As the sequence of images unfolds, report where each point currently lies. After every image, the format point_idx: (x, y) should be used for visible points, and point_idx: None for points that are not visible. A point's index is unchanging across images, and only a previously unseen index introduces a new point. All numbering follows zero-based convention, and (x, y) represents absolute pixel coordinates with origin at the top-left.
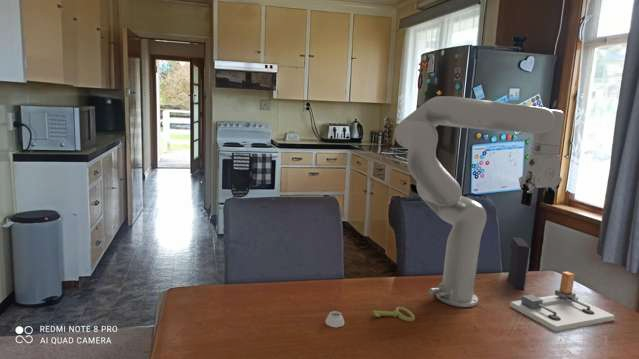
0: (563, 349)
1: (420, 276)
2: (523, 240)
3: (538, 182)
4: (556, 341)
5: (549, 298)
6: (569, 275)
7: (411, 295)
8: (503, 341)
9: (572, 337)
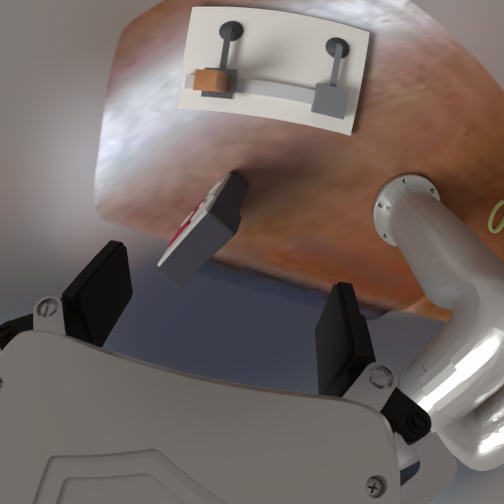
0: (410, 10)
1: (367, 299)
2: (171, 258)
3: (372, 452)
4: (398, 23)
5: (263, 94)
6: (217, 70)
7: None
8: (468, 83)
9: (357, 10)
